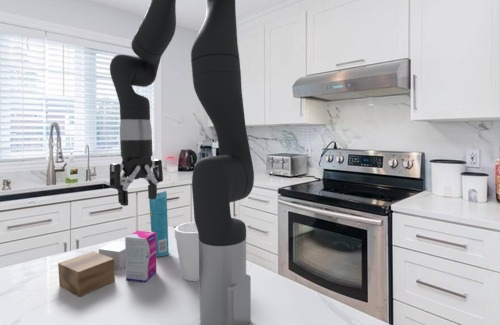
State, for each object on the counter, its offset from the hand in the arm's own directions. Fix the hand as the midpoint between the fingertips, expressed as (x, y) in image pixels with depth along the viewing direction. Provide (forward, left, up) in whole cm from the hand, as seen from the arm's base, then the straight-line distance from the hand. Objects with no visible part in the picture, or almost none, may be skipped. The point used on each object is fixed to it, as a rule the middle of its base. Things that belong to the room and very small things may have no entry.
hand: (138, 202), depth 81 cm
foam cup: (-11, -8, -20) cm, 24 cm away
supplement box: (0, 0, -20) cm, 20 cm away
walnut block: (+8, +10, -20) cm, 24 cm away
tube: (+8, -13, -20) cm, 25 cm away
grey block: (+13, -2, -20) cm, 24 cm away
